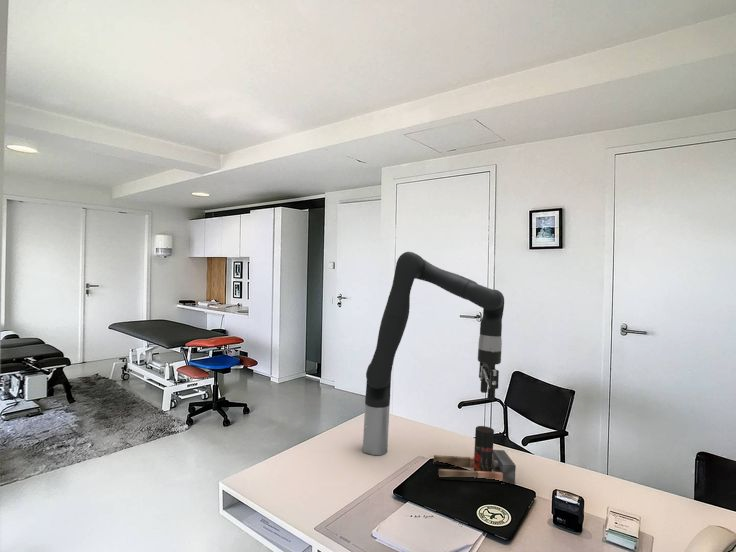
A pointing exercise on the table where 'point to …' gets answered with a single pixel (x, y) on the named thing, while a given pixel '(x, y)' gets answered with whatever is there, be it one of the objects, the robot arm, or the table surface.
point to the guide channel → (499, 463)
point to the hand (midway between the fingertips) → (487, 396)
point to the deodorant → (483, 449)
